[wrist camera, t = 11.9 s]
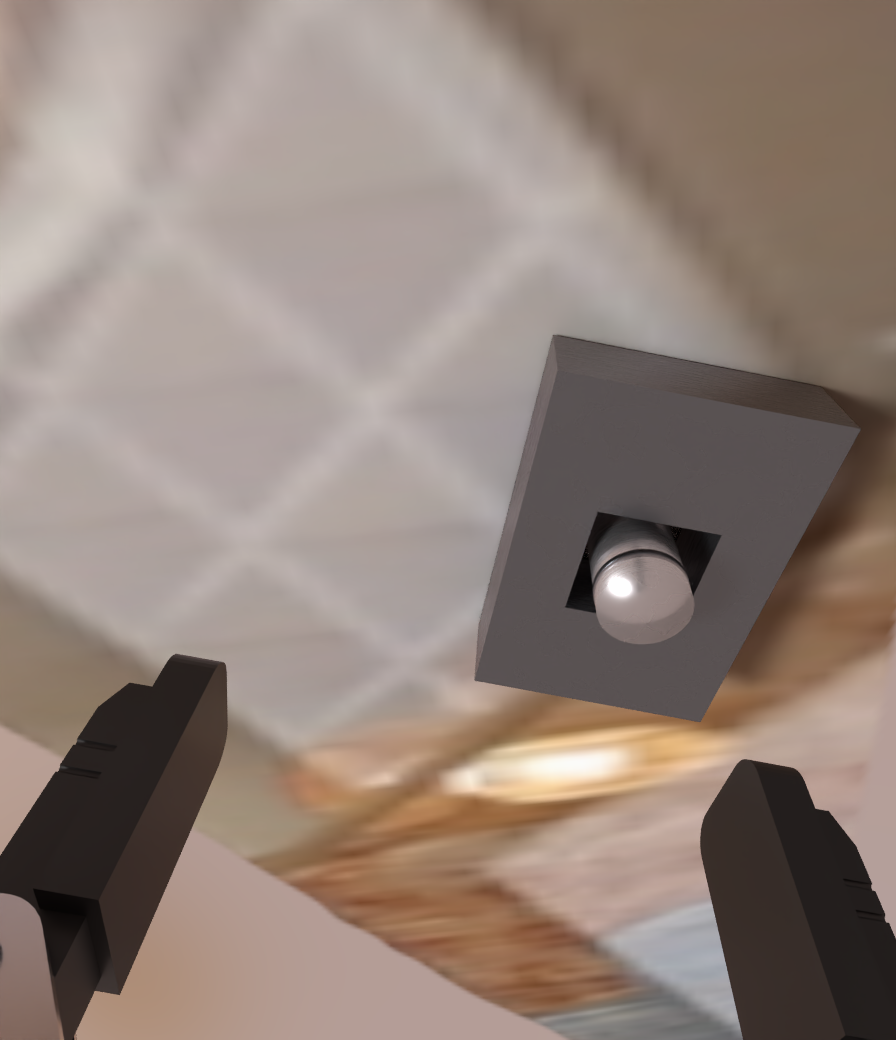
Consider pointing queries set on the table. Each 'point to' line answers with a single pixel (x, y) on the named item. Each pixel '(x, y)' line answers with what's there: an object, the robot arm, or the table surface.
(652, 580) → the piston
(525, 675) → the grey block with hole
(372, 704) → the table surface
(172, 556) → the table surface
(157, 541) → the table surface
